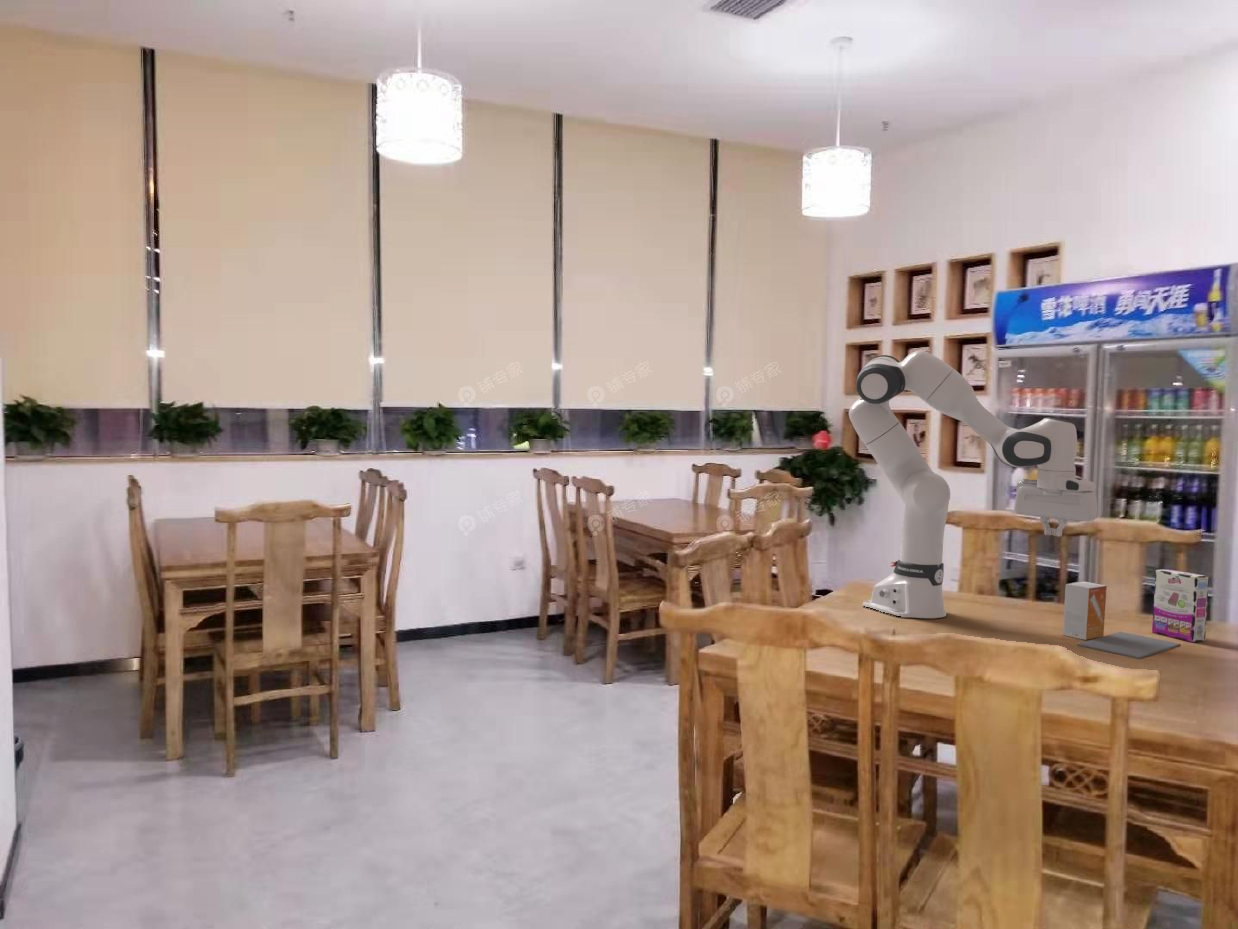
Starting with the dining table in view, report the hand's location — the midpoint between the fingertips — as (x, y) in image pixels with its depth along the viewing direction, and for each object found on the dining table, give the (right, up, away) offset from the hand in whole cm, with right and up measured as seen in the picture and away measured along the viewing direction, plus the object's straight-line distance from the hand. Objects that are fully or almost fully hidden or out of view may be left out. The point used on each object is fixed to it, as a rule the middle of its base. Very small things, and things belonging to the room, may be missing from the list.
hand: (1052, 535), depth 238 cm
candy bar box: (+29, -25, -4) cm, 39 cm away
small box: (+5, -25, -6) cm, 26 cm away
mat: (+12, -25, -14) cm, 31 cm away
